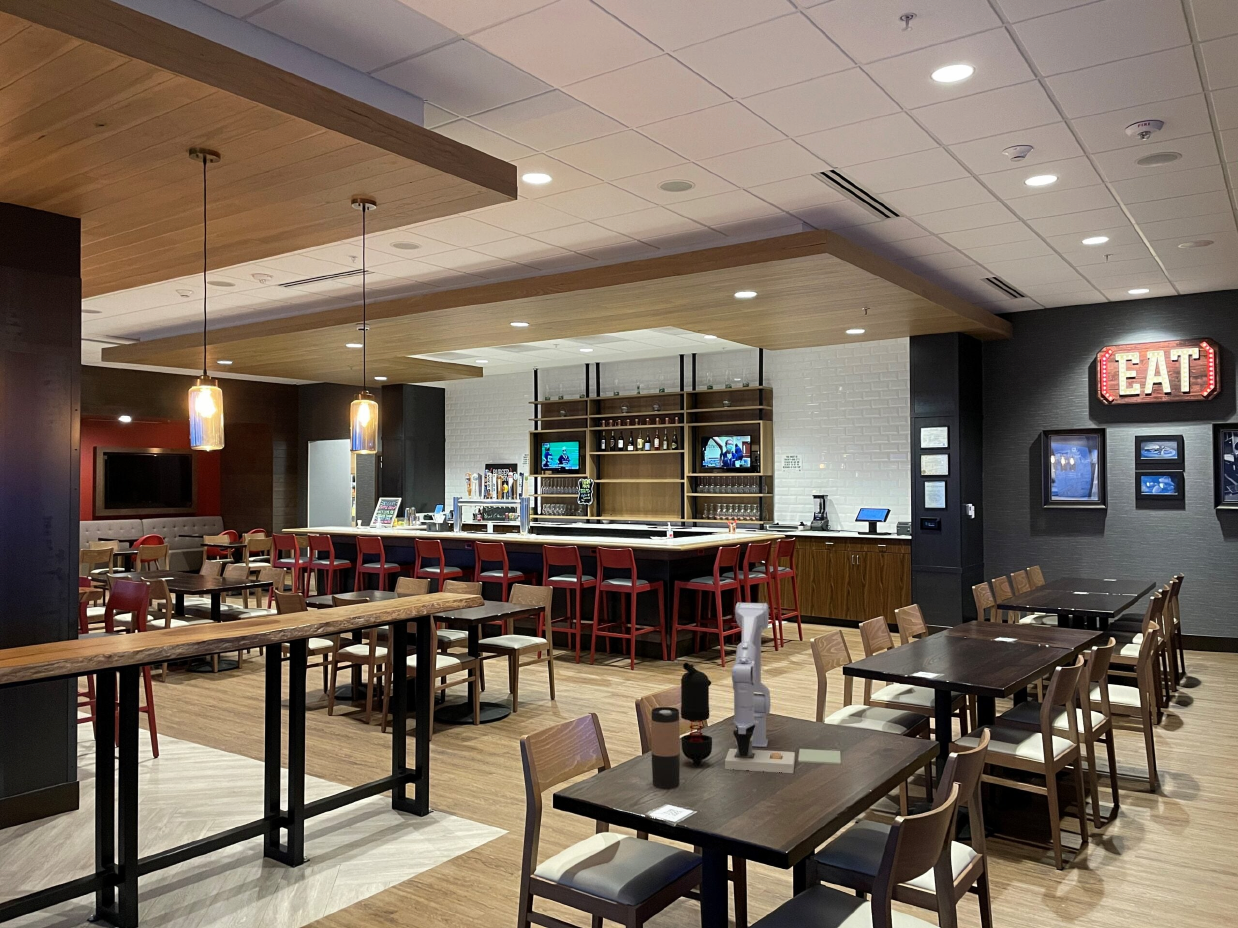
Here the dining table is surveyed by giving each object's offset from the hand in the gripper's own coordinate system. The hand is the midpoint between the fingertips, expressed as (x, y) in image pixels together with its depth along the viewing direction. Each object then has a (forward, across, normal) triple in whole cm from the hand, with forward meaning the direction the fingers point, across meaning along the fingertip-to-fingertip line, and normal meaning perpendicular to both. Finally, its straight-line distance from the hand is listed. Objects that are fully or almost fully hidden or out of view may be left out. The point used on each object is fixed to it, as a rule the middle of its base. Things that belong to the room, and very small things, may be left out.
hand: (744, 752), depth 261 cm
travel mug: (+3, -23, +19) cm, 30 cm away
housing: (+3, 0, -4) cm, 6 cm away
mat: (+3, +11, -21) cm, 24 cm away
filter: (+3, -2, +13) cm, 14 cm away
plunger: (+2, 0, -9) cm, 9 cm away
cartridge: (+3, 0, 0) cm, 3 cm away
